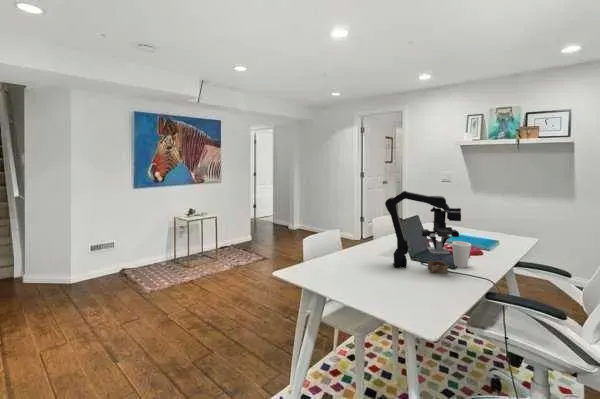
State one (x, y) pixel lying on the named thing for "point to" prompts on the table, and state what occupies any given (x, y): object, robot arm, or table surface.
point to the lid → (438, 248)
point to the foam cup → (461, 253)
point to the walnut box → (437, 267)
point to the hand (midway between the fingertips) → (438, 248)
